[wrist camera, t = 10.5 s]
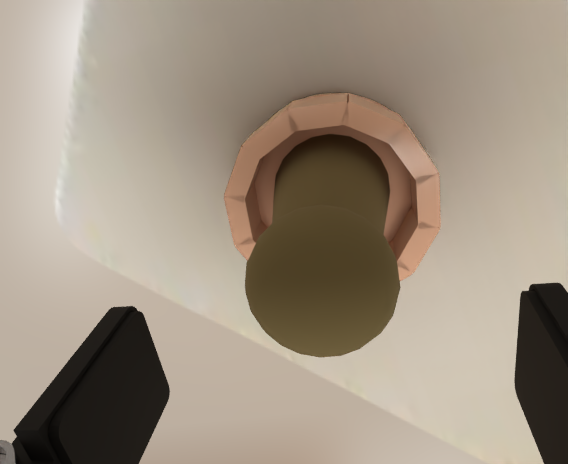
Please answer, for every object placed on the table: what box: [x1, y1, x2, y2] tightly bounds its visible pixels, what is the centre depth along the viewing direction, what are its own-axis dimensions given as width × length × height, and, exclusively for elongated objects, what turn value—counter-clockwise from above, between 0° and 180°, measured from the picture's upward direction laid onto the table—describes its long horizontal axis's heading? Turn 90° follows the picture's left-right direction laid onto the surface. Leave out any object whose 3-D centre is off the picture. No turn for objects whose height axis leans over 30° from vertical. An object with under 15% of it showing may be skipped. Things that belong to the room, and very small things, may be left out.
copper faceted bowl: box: [224, 93, 441, 281], centre depth 23 cm, size 10×10×4 cm
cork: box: [245, 134, 400, 357], centre depth 19 cm, size 6×6×11 cm
